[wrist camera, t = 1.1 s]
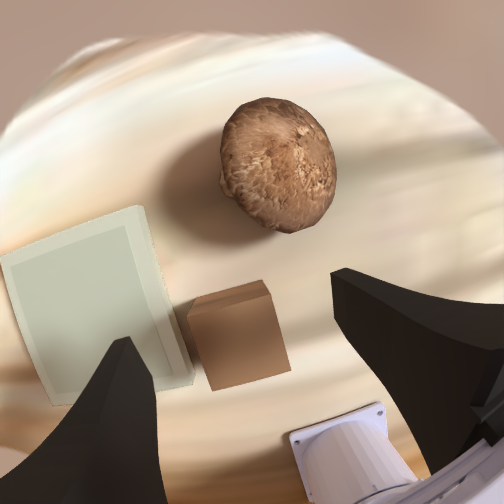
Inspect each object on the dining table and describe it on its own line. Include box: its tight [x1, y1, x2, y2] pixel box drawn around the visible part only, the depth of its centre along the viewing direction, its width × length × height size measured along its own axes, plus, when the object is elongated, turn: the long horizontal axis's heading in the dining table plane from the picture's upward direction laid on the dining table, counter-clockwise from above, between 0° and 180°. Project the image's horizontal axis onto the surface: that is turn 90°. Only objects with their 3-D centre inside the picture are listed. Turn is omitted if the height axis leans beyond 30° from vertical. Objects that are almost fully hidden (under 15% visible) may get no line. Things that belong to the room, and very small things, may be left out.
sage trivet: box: [0, 205, 196, 406], centre depth 20 cm, size 12×12×2 cm
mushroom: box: [219, 97, 337, 234], centre depth 19 cm, size 8×8×6 cm
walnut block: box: [186, 280, 291, 391], centre depth 19 cm, size 4×4×5 cm
